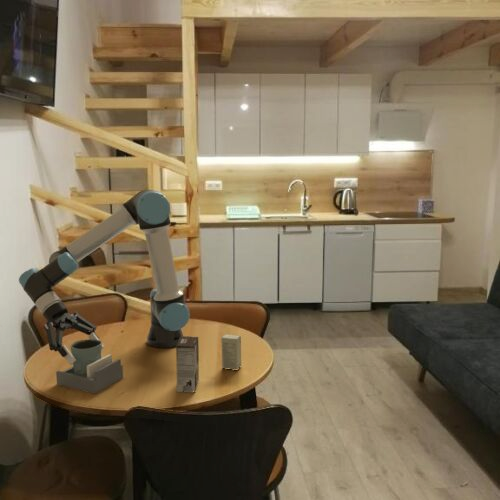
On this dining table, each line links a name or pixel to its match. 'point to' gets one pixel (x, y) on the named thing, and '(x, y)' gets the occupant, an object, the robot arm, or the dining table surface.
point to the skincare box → (231, 351)
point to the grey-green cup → (85, 354)
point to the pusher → (98, 365)
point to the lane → (100, 381)
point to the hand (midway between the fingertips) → (88, 355)
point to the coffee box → (187, 364)
